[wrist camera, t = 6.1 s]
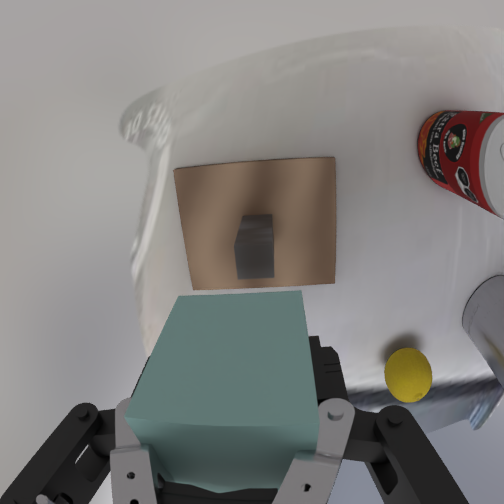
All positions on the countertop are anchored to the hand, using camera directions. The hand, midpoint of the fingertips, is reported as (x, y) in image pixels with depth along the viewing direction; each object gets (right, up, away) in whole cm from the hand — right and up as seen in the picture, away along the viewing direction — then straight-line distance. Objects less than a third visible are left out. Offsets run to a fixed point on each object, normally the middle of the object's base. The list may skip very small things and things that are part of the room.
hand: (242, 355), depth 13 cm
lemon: (+18, -8, +21) cm, 29 cm away
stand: (+1, +7, +16) cm, 17 cm away
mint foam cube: (0, 0, +1) cm, 1 cm away
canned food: (+19, +14, +12) cm, 27 cm away
